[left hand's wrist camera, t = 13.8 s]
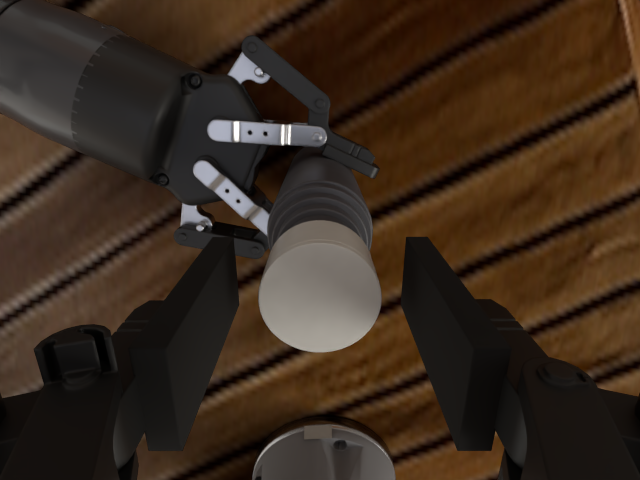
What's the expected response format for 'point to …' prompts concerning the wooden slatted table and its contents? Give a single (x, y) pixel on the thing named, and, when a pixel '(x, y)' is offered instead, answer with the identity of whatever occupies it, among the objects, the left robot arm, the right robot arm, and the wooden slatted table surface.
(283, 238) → the cap
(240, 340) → the wooden slatted table surface
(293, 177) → the bottle
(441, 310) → the left robot arm
